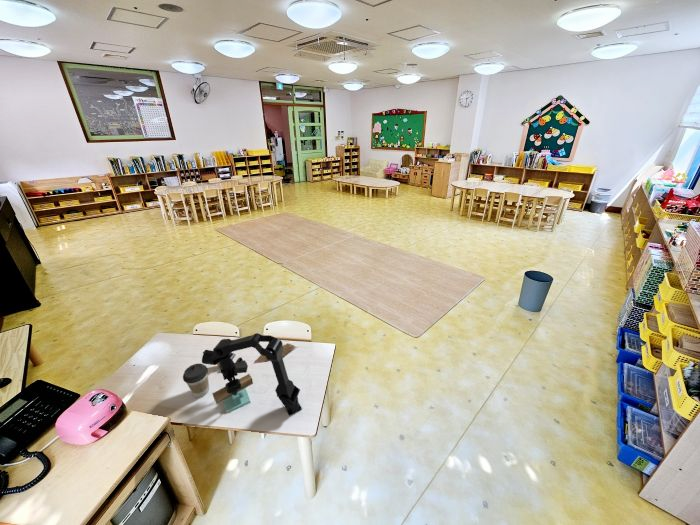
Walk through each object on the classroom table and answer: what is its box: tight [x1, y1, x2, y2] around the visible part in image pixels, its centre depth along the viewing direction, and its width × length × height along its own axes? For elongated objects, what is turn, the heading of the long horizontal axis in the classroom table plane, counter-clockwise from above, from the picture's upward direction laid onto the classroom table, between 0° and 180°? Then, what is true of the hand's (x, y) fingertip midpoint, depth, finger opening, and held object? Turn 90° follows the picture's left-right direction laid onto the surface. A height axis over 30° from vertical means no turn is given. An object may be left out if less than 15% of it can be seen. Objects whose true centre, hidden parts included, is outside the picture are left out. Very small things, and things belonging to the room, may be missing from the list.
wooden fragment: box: [253, 343, 297, 364], centre depth 175 cm, size 26×11×1 cm, turn 116°
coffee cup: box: [182, 363, 210, 398], centre depth 149 cm, size 11×11×15 cm
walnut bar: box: [212, 373, 254, 405], centre depth 143 cm, size 4×18×4 cm, turn 130°
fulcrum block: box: [223, 387, 251, 414], centre depth 146 cm, size 11×11×6 cm
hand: (233, 388), depth 144 cm, fingers open, 9 cm apart
